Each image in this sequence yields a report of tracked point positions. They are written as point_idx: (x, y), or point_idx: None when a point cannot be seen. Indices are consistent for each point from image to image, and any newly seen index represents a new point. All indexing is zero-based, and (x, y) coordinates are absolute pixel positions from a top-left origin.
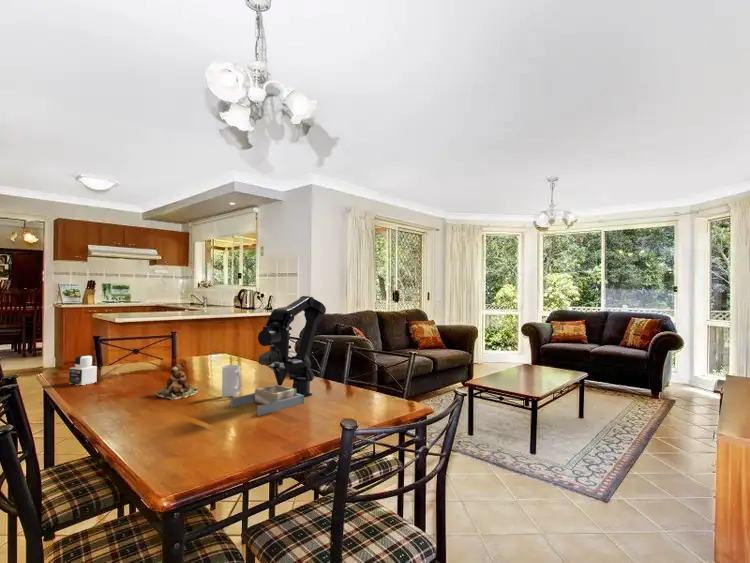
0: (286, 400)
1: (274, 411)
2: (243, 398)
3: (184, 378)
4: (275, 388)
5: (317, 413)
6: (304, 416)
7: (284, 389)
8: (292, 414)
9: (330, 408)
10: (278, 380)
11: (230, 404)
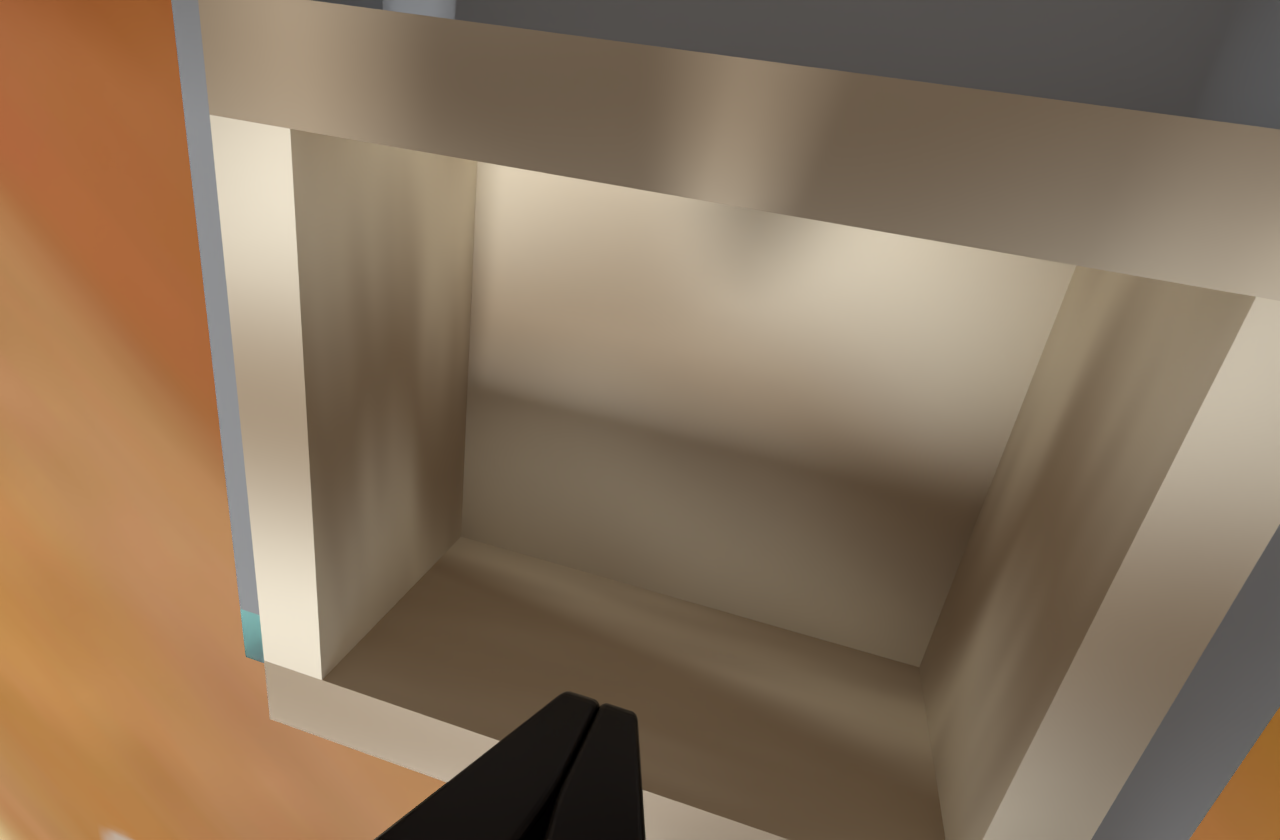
0: (207, 226)
1: None
2: None
3: None
4: (945, 804)
5: (30, 353)
6: (16, 147)
7: None
8: (181, 125)
9: (97, 586)
10: (511, 825)
11: None
